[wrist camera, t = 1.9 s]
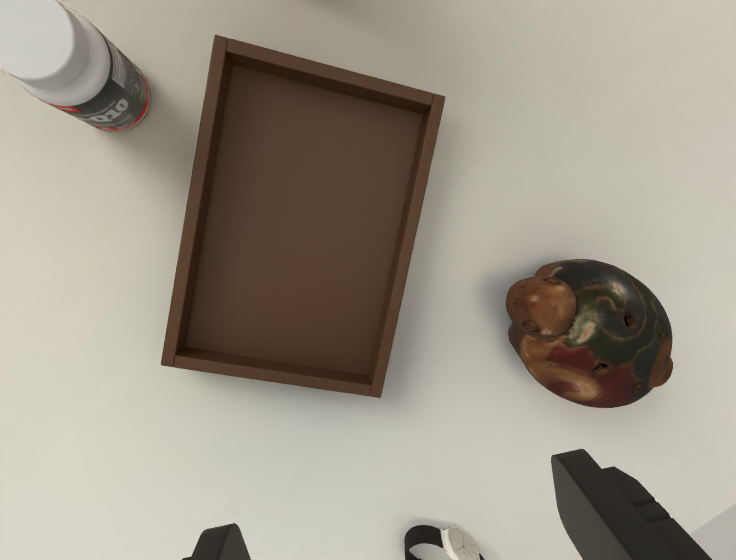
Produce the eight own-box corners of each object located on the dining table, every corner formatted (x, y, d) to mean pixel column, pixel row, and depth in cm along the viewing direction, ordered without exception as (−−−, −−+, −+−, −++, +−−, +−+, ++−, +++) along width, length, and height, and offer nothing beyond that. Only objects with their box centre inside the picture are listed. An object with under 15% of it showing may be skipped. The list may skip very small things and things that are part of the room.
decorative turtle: (491, 228, 31) (563, 224, 23) (644, 295, 35) (751, 311, 27) (445, 350, 31) (501, 386, 23) (602, 404, 35) (696, 451, 27)
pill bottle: (84, 138, 27) (-17, 97, 18) (63, 61, 26) (-51, -17, 18) (160, 126, 27) (95, 81, 19) (141, 51, 27) (65, -30, 18)
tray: (173, 353, 29) (159, 365, 26) (223, 52, 27) (214, 33, 25) (375, 384, 31) (380, 398, 29) (434, 108, 29) (445, 96, 27)
